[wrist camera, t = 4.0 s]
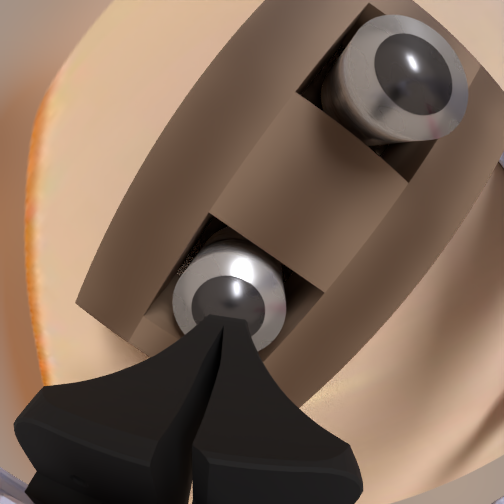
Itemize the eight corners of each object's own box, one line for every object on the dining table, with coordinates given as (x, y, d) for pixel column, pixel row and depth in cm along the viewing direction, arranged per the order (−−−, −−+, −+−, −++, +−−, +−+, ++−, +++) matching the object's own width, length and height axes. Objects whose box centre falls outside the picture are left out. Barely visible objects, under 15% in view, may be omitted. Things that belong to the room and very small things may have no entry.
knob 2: (422, 99, 14) (485, 79, 8) (377, 164, 15) (433, 168, 9) (352, 42, 13) (390, -8, 7) (302, 106, 15) (322, 74, 9)
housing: (464, 121, 16) (520, 114, 10) (276, 366, 21) (277, 426, 16) (310, -4, 14) (324, -55, 8) (121, 266, 20) (75, 302, 14)
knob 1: (297, 256, 19) (310, 299, 13) (250, 316, 20) (243, 374, 14) (229, 208, 18) (210, 231, 12) (185, 273, 19) (153, 319, 14)
